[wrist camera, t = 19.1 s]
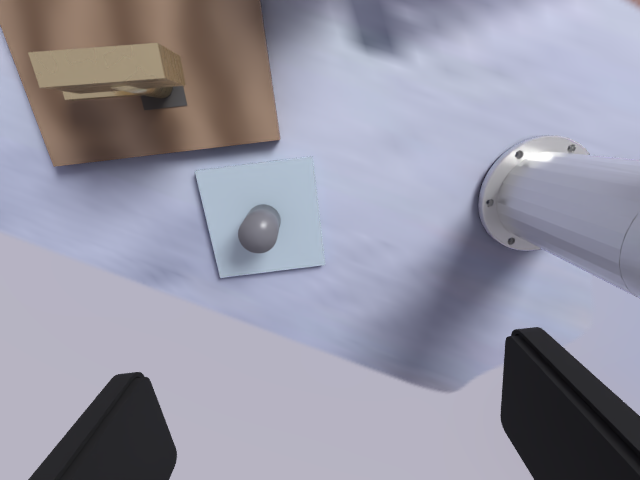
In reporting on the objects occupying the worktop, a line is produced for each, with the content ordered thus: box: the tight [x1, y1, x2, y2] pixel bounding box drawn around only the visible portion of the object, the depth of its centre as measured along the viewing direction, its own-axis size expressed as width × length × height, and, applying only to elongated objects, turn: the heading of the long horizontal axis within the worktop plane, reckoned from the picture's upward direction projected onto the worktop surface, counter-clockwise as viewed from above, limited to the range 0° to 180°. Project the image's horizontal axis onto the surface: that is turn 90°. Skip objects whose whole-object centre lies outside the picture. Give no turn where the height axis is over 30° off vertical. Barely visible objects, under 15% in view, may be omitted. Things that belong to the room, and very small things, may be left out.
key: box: [28, 43, 186, 101], centre depth 25 cm, size 2×11×9 cm, turn 94°
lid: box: [195, 156, 325, 278], centre depth 33 cm, size 12×12×6 cm
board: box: [0, 0, 280, 167], centre depth 28 cm, size 22×24×2 cm
